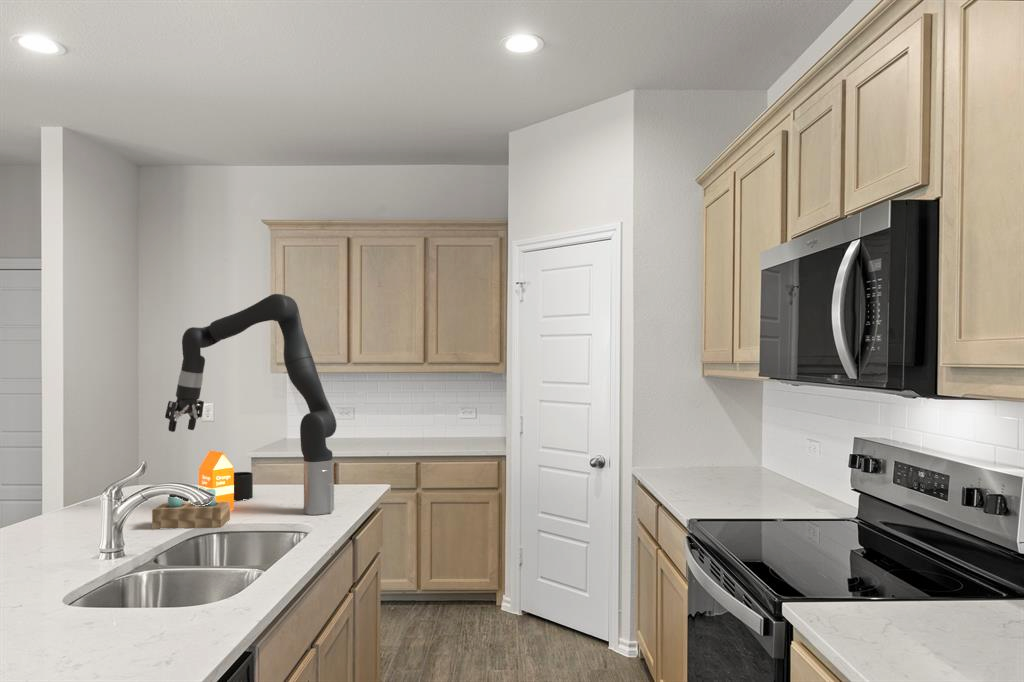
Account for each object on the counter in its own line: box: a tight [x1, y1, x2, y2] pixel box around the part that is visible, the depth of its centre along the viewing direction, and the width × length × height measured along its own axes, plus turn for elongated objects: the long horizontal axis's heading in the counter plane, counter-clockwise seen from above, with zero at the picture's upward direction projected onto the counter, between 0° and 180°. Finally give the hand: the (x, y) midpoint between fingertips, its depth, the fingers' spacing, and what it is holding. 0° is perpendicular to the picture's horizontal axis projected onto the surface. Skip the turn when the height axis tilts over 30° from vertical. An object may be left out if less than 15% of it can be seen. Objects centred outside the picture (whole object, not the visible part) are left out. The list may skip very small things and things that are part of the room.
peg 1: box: [167, 496, 183, 508], centre depth 217 cm, size 4×4×6 cm
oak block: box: [151, 501, 231, 530], centre depth 217 cm, size 20×9×6 cm, turn 95°
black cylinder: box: [234, 471, 254, 500], centre depth 258 cm, size 9×12×9 cm
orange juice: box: [198, 450, 235, 510], centre depth 237 cm, size 8×9×20 cm
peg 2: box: [202, 489, 216, 507], centre depth 218 cm, size 4×4×6 cm
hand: (181, 430), depth 243 cm, fingers open, 8 cm apart
